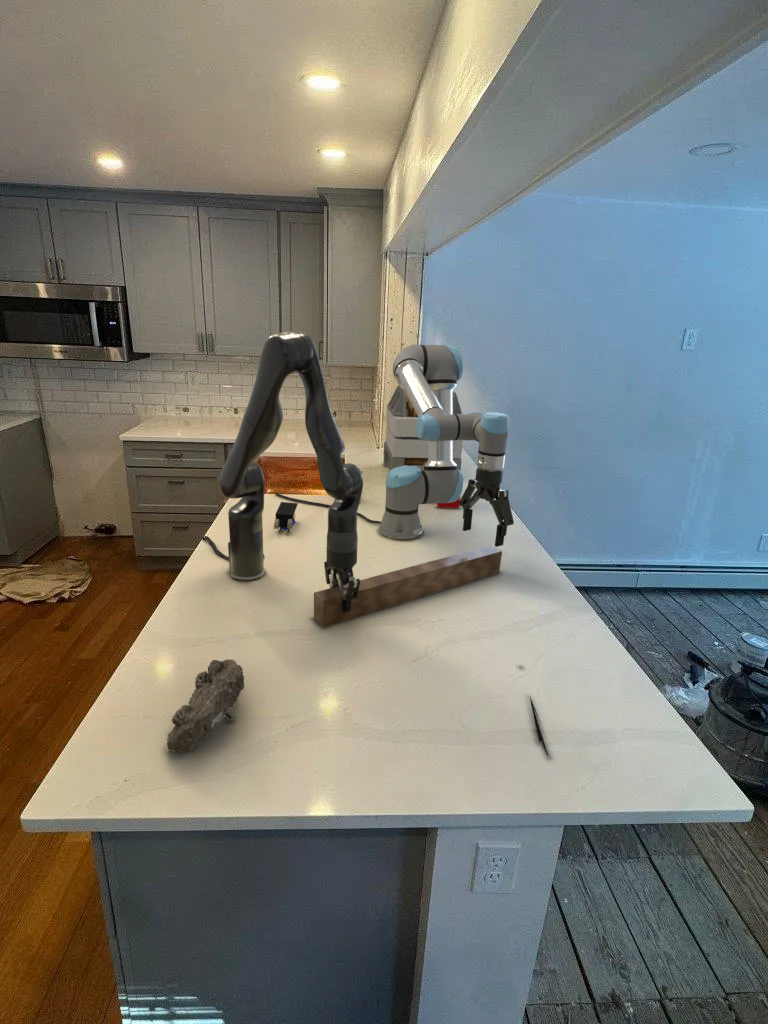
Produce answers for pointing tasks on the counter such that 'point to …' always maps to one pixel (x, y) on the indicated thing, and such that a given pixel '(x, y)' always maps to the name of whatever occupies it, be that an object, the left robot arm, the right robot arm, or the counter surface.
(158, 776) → the counter surface
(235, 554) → the left robot arm
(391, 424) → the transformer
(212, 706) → the fossil
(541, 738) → the feather
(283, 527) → the figurine character
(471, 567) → the bar
